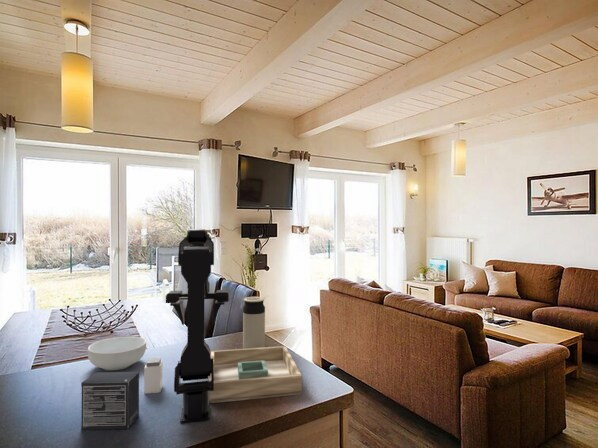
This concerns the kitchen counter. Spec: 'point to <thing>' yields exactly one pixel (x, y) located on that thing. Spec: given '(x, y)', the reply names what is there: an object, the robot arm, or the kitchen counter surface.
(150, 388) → the grey plug
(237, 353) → the walled box
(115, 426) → the small box
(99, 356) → the cereal bowl
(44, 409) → the kitchen counter surface
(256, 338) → the travel mug
